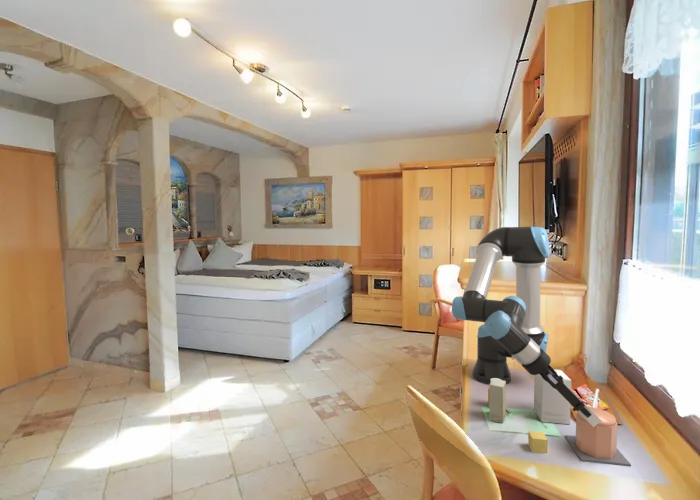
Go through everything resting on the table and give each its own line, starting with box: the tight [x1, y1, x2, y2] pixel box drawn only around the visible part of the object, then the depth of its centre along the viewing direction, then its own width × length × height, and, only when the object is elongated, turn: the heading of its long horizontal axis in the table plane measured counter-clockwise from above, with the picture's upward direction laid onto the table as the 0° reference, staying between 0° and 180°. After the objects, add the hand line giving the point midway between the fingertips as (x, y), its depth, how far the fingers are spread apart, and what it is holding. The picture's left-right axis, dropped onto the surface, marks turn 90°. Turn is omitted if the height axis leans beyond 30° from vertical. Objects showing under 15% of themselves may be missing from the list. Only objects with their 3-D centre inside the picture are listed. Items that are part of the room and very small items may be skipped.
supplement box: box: [533, 369, 572, 425], centre depth 123 cm, size 9×9×15 cm
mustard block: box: [527, 430, 549, 454], centre depth 106 cm, size 4×4×4 cm
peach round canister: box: [575, 406, 618, 459], centre depth 104 cm, size 9×9×10 cm
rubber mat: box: [564, 434, 632, 467], centre depth 105 cm, size 12×12×1 cm
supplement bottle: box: [487, 378, 501, 408], centre depth 130 cm, size 5×5×10 cm
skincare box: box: [488, 379, 507, 424], centre depth 123 cm, size 6×4×12 cm
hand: (585, 410), depth 104 cm, fingers open, 13 cm apart
